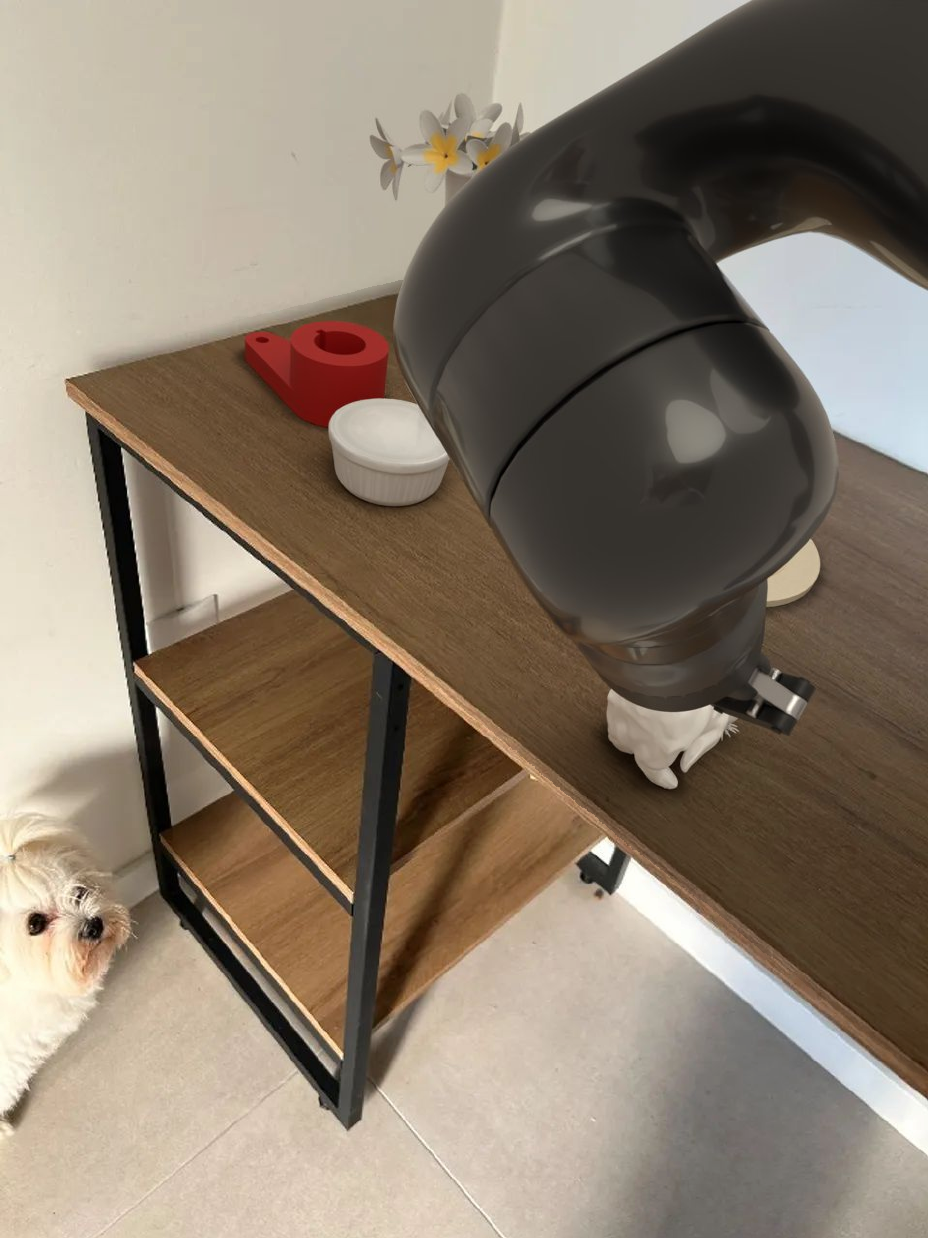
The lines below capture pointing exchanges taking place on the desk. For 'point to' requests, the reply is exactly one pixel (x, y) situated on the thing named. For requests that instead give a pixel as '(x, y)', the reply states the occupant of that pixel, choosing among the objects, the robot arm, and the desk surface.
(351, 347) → the lever
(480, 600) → the desk surface
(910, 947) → the desk surface
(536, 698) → the desk surface
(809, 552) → the plate
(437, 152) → the flower vase
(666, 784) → the white animal figurine
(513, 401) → the robot arm
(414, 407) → the ramekin
